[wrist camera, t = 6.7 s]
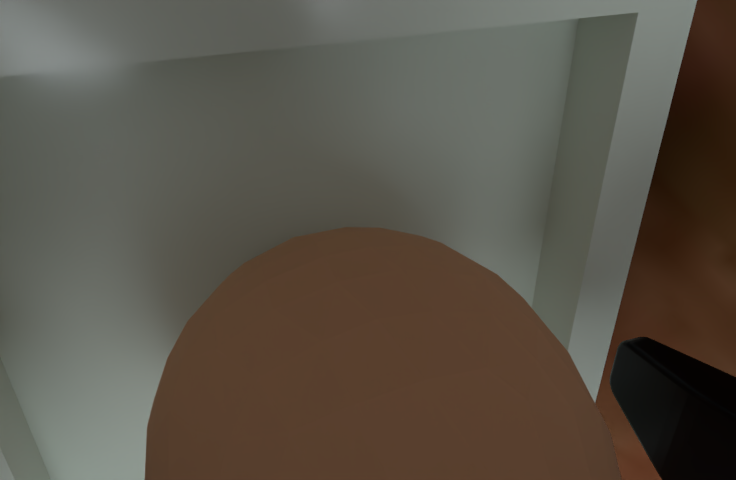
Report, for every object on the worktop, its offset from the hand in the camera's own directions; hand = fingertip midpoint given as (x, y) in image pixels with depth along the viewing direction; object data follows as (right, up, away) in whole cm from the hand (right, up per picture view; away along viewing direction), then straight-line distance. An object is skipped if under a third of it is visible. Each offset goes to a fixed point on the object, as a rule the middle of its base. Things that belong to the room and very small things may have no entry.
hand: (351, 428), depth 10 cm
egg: (-1, +2, +3) cm, 3 cm away
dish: (-1, +2, +3) cm, 4 cm away
